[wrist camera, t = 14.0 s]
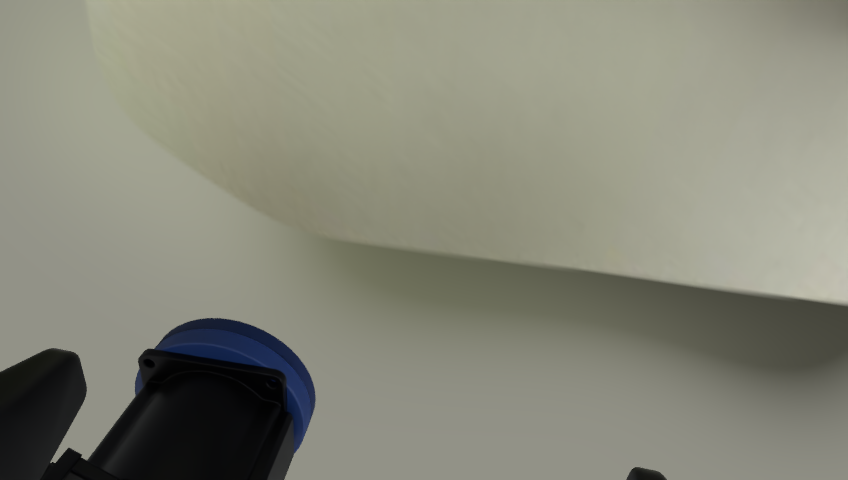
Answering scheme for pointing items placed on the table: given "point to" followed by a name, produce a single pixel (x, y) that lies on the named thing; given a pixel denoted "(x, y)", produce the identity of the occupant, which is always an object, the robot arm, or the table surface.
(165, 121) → the table surface
